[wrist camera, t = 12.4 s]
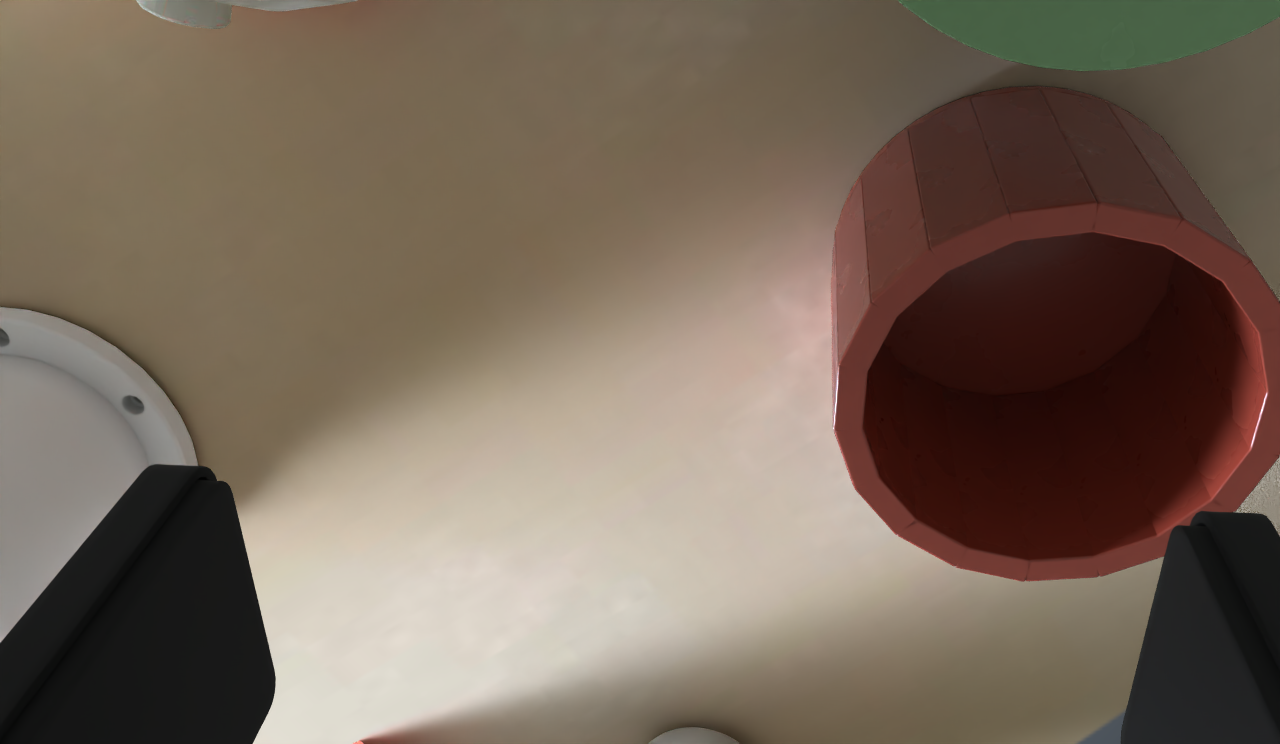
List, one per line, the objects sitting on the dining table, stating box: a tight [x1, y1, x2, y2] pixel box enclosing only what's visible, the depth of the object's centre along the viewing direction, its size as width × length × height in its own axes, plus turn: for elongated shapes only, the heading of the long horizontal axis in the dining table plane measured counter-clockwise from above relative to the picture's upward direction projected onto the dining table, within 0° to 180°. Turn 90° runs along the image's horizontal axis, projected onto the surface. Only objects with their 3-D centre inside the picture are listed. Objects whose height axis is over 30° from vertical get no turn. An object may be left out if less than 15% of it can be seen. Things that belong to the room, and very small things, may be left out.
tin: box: [831, 86, 1280, 582], centre depth 35 cm, size 12×12×10 cm
